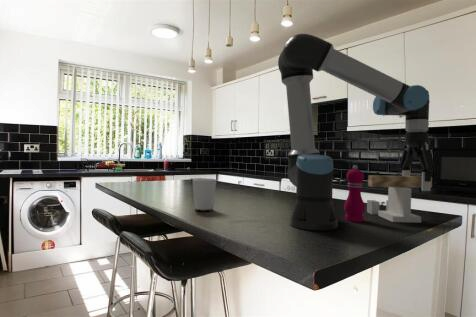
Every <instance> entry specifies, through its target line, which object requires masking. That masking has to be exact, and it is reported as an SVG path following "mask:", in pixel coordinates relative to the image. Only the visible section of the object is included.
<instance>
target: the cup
mask: <svg viewBox="0 0 476 317" xmlns="http://www.w3.org/2000/svg"><path fill="white" fill-rule="evenodd" d="M216 187H217V179H216V178H206V177H205V178H204V177H203V178H193V179H192V192H193V203H194V204H193V205H194V211H196V212H199V210H200V212H201V211H204V212H205V211H206V212H212V211H213V210H214V207H215V206H214V205H215V198H216V197H215V196H216ZM212 209H213V210H212Z"/></svg>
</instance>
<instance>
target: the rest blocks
mask: <svg viewBox="0 0 476 317" xmlns="http://www.w3.org/2000/svg"><path fill="white" fill-rule="evenodd" d="M385 204H386V205H385V207H386V208H385V211H388V199H387V200H386V203H385ZM380 207H381V206H380V201H377V200H374V199H373V200H372V199H367V200H366V213H368V214H370V215H378V211H380Z"/></svg>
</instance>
